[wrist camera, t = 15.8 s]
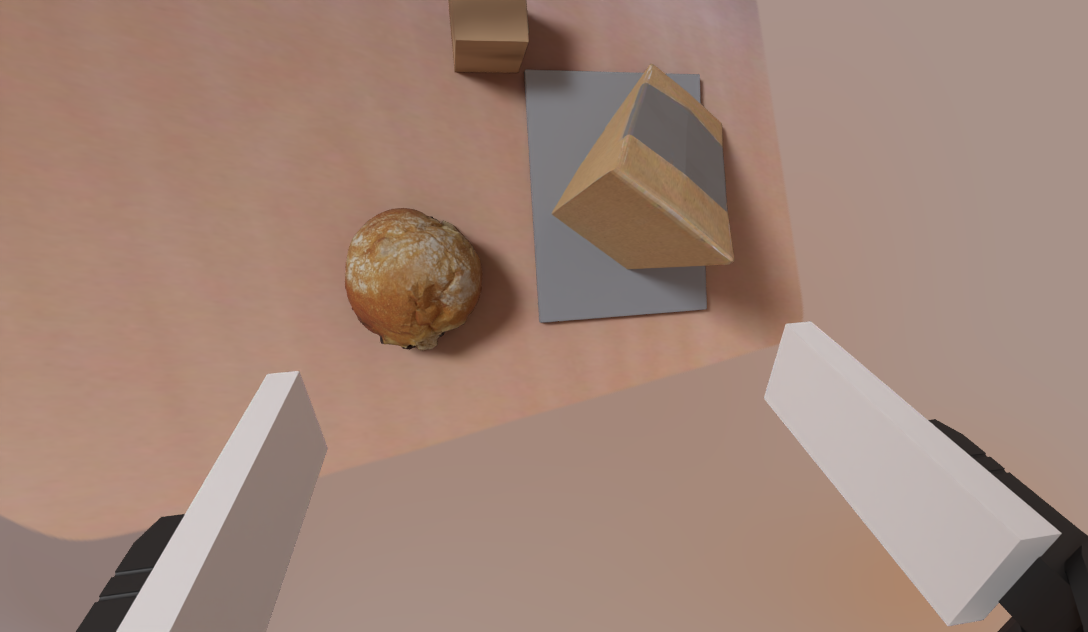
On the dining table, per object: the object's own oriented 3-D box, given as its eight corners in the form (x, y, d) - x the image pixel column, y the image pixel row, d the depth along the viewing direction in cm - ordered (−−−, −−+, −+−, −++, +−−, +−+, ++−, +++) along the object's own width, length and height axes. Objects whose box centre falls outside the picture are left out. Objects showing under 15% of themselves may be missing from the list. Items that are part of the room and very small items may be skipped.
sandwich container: (725, 125, 41) (883, 37, 26) (630, 272, 40) (737, 266, 25) (649, 60, 39) (772, -75, 24) (548, 212, 38) (612, 168, 23)
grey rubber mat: (524, 73, 37) (525, 69, 37) (695, 77, 40) (699, 74, 40) (539, 321, 39) (540, 322, 39) (703, 308, 42) (706, 309, 41)
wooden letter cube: (448, 4, 36) (448, -39, 31) (515, 7, 37) (525, -35, 32) (454, 72, 36) (455, 40, 32) (520, 72, 37) (531, 41, 33)
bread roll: (485, 263, 42) (507, 215, 34) (454, 372, 37) (472, 343, 30) (373, 225, 39) (372, 165, 32) (326, 336, 35) (313, 295, 28)
